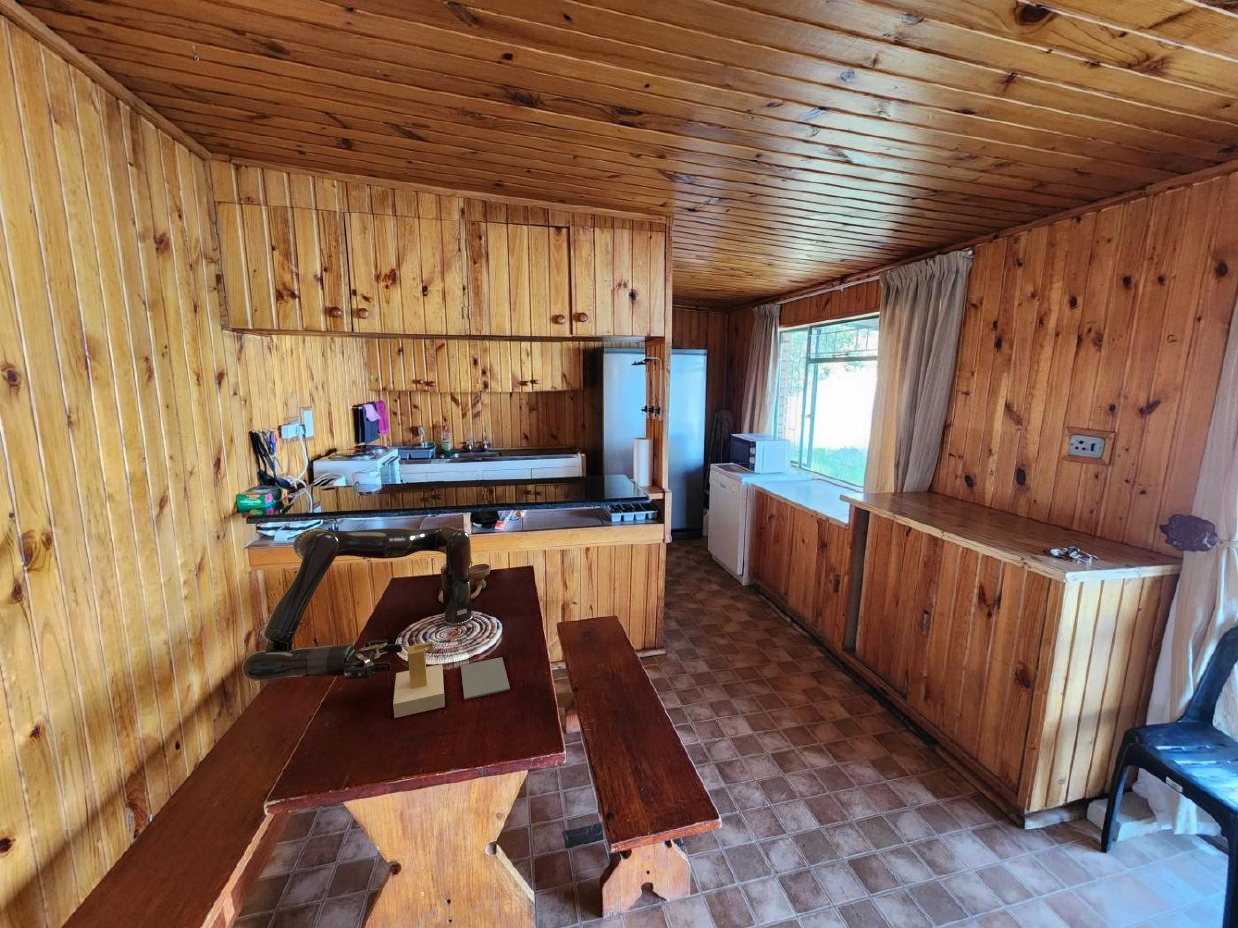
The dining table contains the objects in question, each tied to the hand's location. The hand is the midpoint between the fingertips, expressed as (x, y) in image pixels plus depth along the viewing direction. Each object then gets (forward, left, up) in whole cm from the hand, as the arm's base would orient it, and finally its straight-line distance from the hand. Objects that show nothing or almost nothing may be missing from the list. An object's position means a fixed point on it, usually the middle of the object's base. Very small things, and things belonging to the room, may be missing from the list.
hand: (396, 656), depth 133 cm
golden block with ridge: (+1, +6, -8) cm, 10 cm away
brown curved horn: (-61, +21, -12) cm, 65 cm away
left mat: (-1, +22, -12) cm, 25 cm away
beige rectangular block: (+1, +5, -12) cm, 13 cm away
